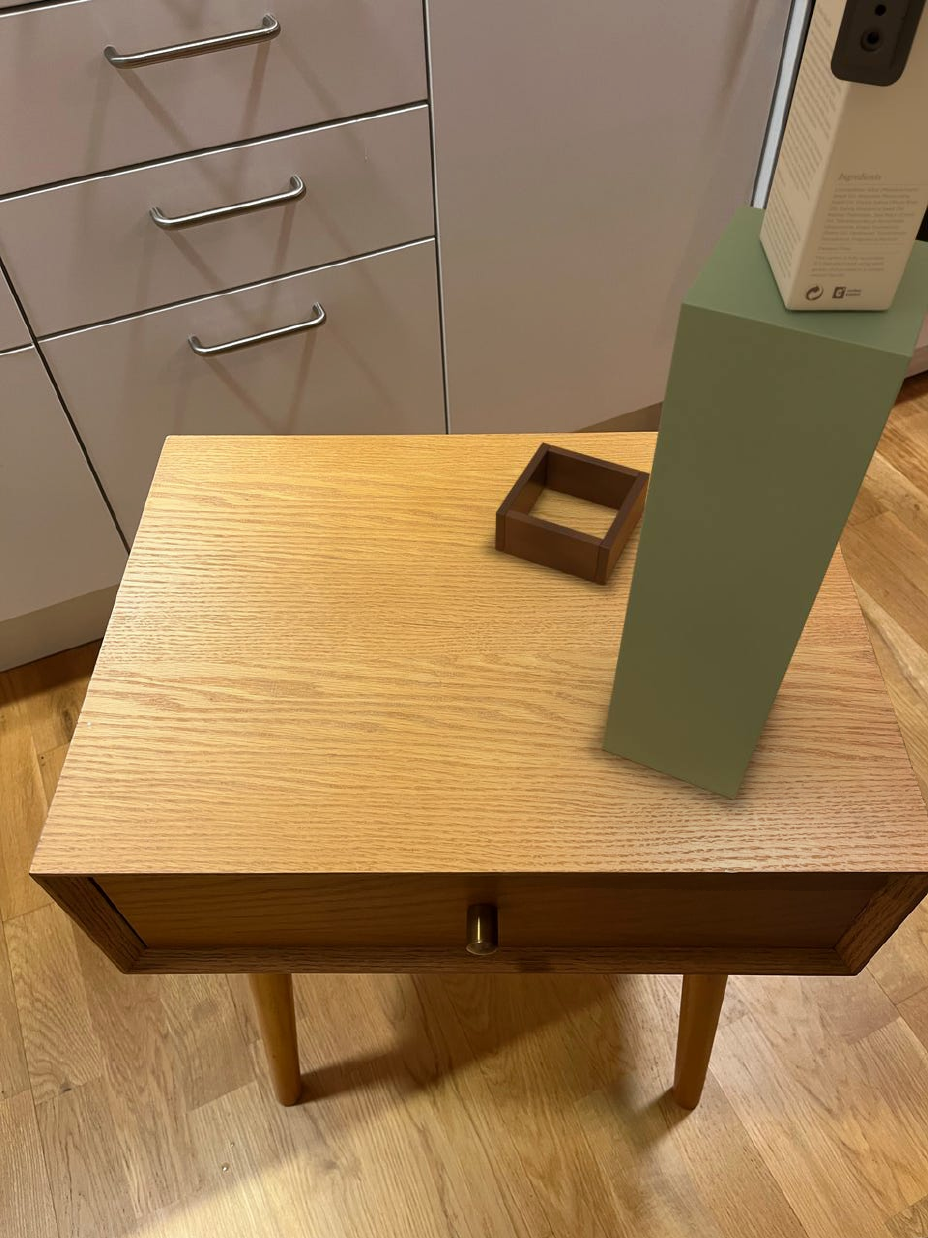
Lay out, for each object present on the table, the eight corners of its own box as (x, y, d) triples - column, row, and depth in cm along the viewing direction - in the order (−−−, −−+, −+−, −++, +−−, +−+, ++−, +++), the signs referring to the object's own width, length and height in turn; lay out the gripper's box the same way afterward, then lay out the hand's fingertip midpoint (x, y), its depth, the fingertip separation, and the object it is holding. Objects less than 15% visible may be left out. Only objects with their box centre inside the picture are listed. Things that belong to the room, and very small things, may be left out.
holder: (643, 510, 78) (650, 473, 75) (604, 585, 73) (610, 549, 70) (539, 478, 81) (542, 441, 78) (494, 549, 76) (495, 512, 73)
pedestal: (769, 696, 66) (947, 244, 41) (734, 800, 61) (913, 356, 36) (645, 653, 69) (740, 203, 44) (601, 749, 64) (680, 301, 39)
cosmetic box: (892, 313, 38) (1025, -44, 29) (783, 314, 38) (881, -43, 29) (854, 236, 42) (960, -100, 33) (755, 236, 42) (833, -99, 33)
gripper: (1372, -896, 16) (976, 137, 28) (1306, -766, 24) (1023, -14, 36) (895, -842, 18) (723, 94, 30) (986, -741, 26) (822, -39, 38)
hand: (887, 34), depth 33 cm, fingers open, 8 cm apart
